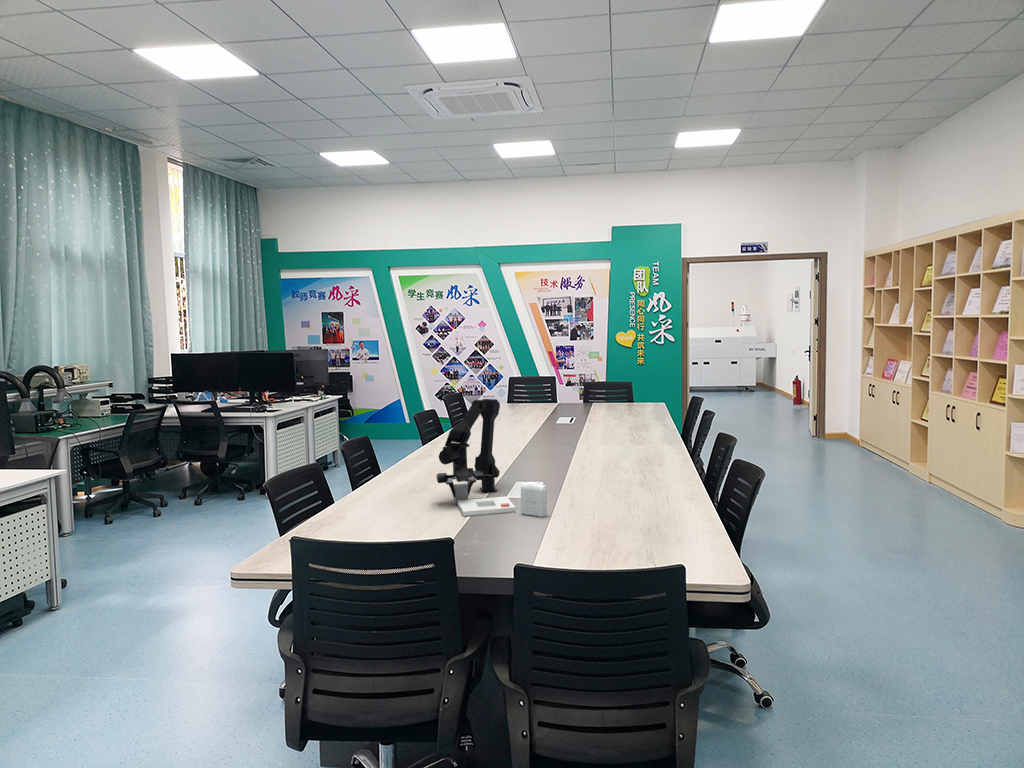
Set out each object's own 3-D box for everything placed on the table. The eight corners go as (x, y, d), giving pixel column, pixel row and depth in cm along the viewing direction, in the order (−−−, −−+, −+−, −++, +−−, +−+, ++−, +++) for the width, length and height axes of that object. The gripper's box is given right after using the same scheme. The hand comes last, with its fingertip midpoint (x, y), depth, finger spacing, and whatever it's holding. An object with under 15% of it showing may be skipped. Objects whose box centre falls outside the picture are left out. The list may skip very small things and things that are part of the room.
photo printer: (549, 514, 251) (548, 482, 250) (543, 518, 247) (543, 485, 246) (524, 511, 256) (524, 479, 255) (519, 514, 252) (518, 482, 251)
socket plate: (457, 505, 266) (457, 498, 266) (506, 501, 271) (506, 494, 270) (463, 516, 251) (463, 509, 250) (515, 512, 255) (515, 505, 255)
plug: (454, 501, 272) (453, 484, 272) (466, 500, 274) (465, 483, 273) (455, 504, 268) (455, 487, 267) (468, 503, 269) (467, 486, 268)
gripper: (438, 465, 259) (440, 504, 261) (486, 462, 263) (487, 500, 265) (435, 459, 270) (437, 497, 271) (481, 456, 274) (482, 493, 275)
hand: (461, 497), depth 270 cm, fingers closed on plug, 5 cm apart
